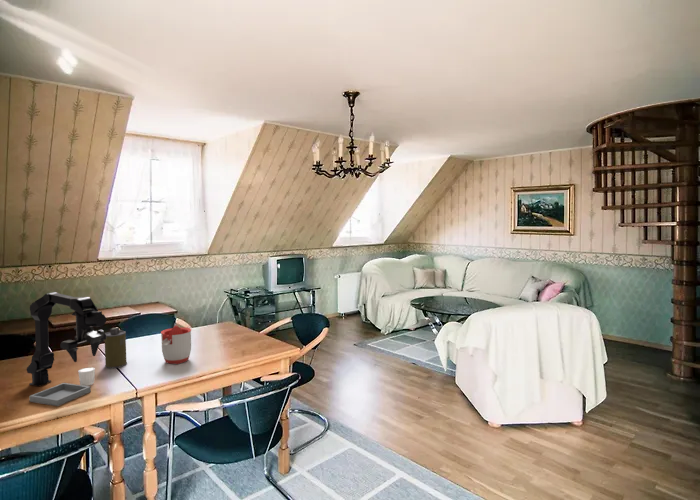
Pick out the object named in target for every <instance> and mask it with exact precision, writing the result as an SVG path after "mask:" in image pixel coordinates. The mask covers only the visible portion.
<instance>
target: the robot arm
mask: <svg viewBox="0 0 700 500" xmlns="http://www.w3.org/2000/svg"><path fill="white" fill-rule="evenodd" d="M57 304H58V305H62V306H65V307H69V308H70V309H71V310H72V311H73V312H72V313H71V316H75V327H74V328H73V329H74V331H76V335H75V336H74V339H73V340H72V339H67V340H64V341H61V343H60V349H63V350H64V351H65V350H66V352H67V353H68V354H69V356H70V358H71V360H72V361H73V362H74V363H77V362H78V355H77V354H78V353H77V352H78V350H79V347H78V346H79V345H80V344H83V343H87V342H88V343H89V344H90V349H91V350H90V351H91V354H92V356H93V357H95V356H96V354H97V351H98V349H99V346H100V345H101V343H103V342H105V339H106V334H105V333H106V332H104V330H103V329H98V330H95V328H94V327H96V328H102V327H104V326H105V325H106V324H107V323H106V322H107V317H106V316H105V314H103V312H102V311H101V310H100V311H99V309H98V308H97V306H96V304H95V302H94V301H93V300H92V298H91V297H90V296H72V295H67V294H64V293H63V294H62V293H59V292H56V291H53V292H47V293H45V294H44V295H43V296H41V297H40V298H38V299H36V300H35V301H33V302H32V303H30V305H29V311H30V316H31V317H32V319H33V320H34V326H35V327H34V329H35V330H34V331H35V332H34V333H35V334H34V336H35V338H34V339H35V351H34V352H33V354H32V356H31V361H30V364H28V366H27V367H26V371H27V374H31V377H32V378H31V381H32V382H30V383H29V384H28V385H29V386H36V387H41V386H43V385H47V384H49V383H51V382H52V379H51V380H50V379H49V377H50V376H49V370H50V369H52V368H53V364H54V361H55V353H54V352H52V351H51V350H50V349H49V346H50V345H49V318H50V317H51V315H52V314H53V313H52V312H53V307H55V306H56V305H57Z"/></svg>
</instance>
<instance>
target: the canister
mask: <svg viewBox="0 0 700 500" xmlns="http://www.w3.org/2000/svg"><path fill="white" fill-rule="evenodd" d="M104 333H105V334H106V339H104V358H105V359H104V361H105V362H104V363H105V365H104V367H105V368H107V369H116V368H117V369H118V368H122V367H124V366H126V365H128V362H127V339H126V335H127V334H126V333H127V332H126V330H125V331H124V330H122V329H120V327H112V328H110V329H109V331H108V332H104Z"/></svg>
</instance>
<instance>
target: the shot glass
mask: <svg viewBox="0 0 700 500" xmlns="http://www.w3.org/2000/svg"><path fill="white" fill-rule="evenodd" d="M95 370H96V368H95V367H92V366H91V367H84V368H80V369H79V370H77V372H78V373H77V374H78V379H79V385H83V386H92V385H94V384H95V376H96V375H95V374H96V373H95V372H96V371H95ZM93 383H94V384H93Z"/></svg>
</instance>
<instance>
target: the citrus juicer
mask: <svg viewBox="0 0 700 500" xmlns="http://www.w3.org/2000/svg"><path fill="white" fill-rule="evenodd" d="M160 334H161V336H160V337H161V352H162V356H163V359H164V361H165V363H166V364H170V365H171V364H172V365H174V364H176V365H180V364H183V363H185V362H187V361H189V360H190V359H189V358H190V356H191V352H192V329H191V328H190V327H183V326H182V327H181V326H179V325H174V326H173V327H172V328H166V329H164V330H161V331H160Z"/></svg>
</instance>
